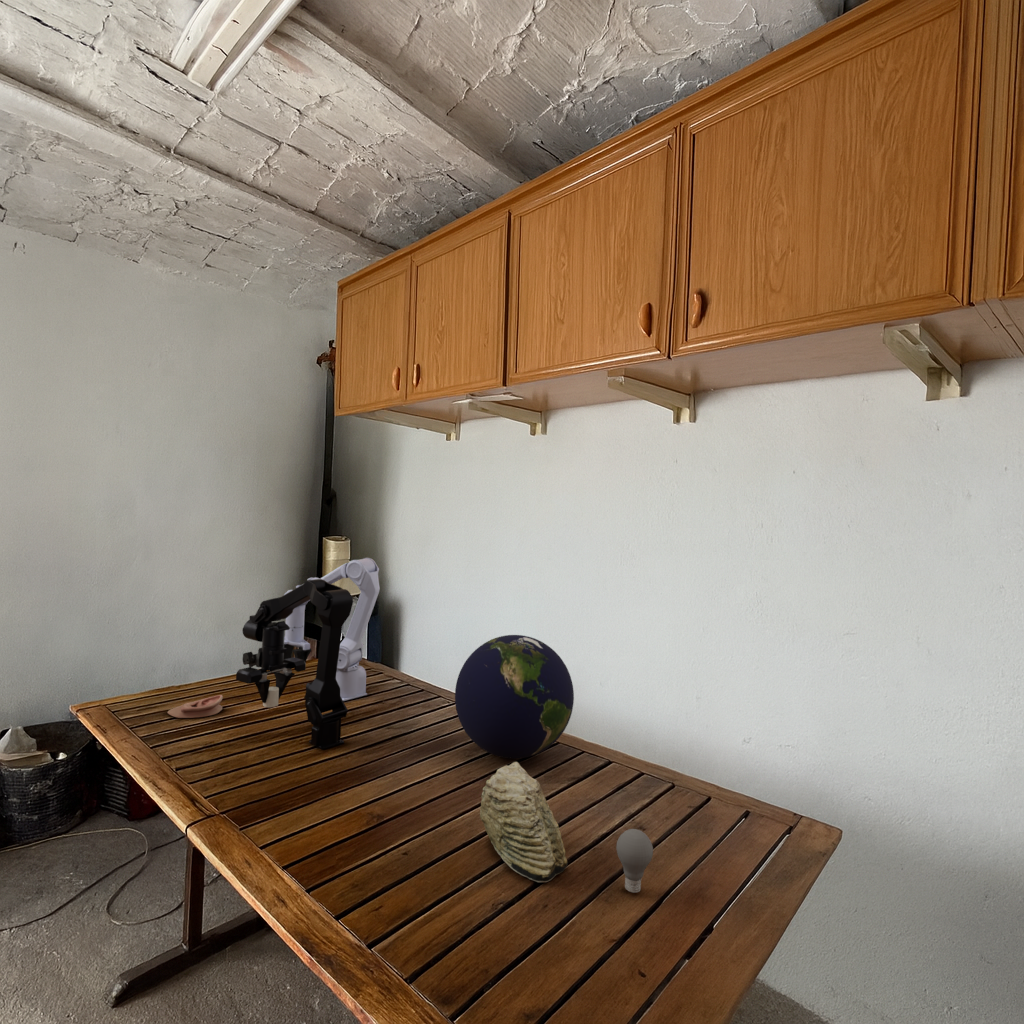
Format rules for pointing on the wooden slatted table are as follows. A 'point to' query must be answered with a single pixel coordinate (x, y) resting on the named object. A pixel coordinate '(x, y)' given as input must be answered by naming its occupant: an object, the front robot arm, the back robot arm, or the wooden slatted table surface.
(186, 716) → the anatomical model
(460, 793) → the wooden slatted table surface
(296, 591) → the front robot arm
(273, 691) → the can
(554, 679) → the globe
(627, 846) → the light bulb
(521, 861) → the fossil
